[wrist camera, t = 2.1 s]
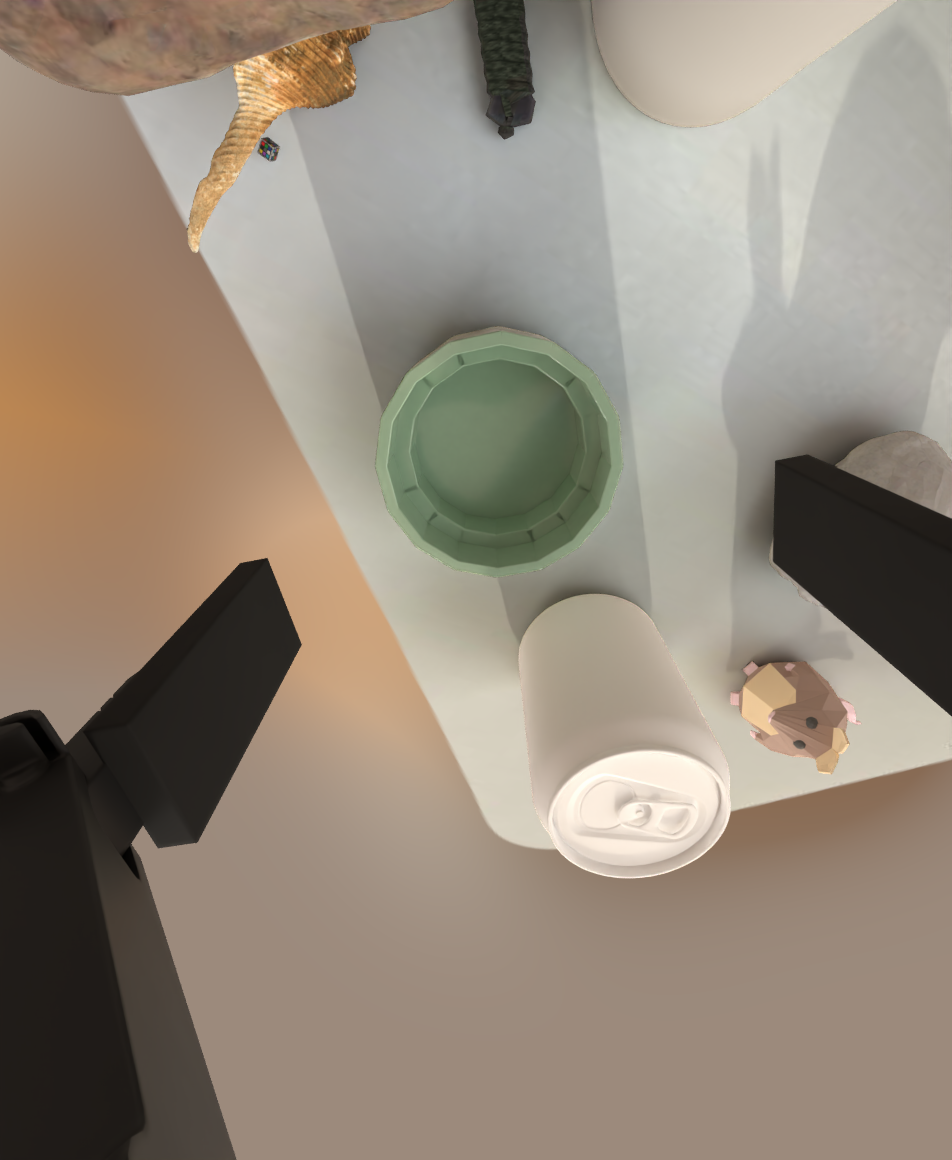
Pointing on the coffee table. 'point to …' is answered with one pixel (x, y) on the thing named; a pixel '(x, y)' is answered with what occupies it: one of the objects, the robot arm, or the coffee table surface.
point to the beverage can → (617, 742)
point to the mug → (716, 50)
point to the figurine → (275, 107)
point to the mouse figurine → (795, 712)
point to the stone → (171, 35)
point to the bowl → (499, 452)
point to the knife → (506, 62)
